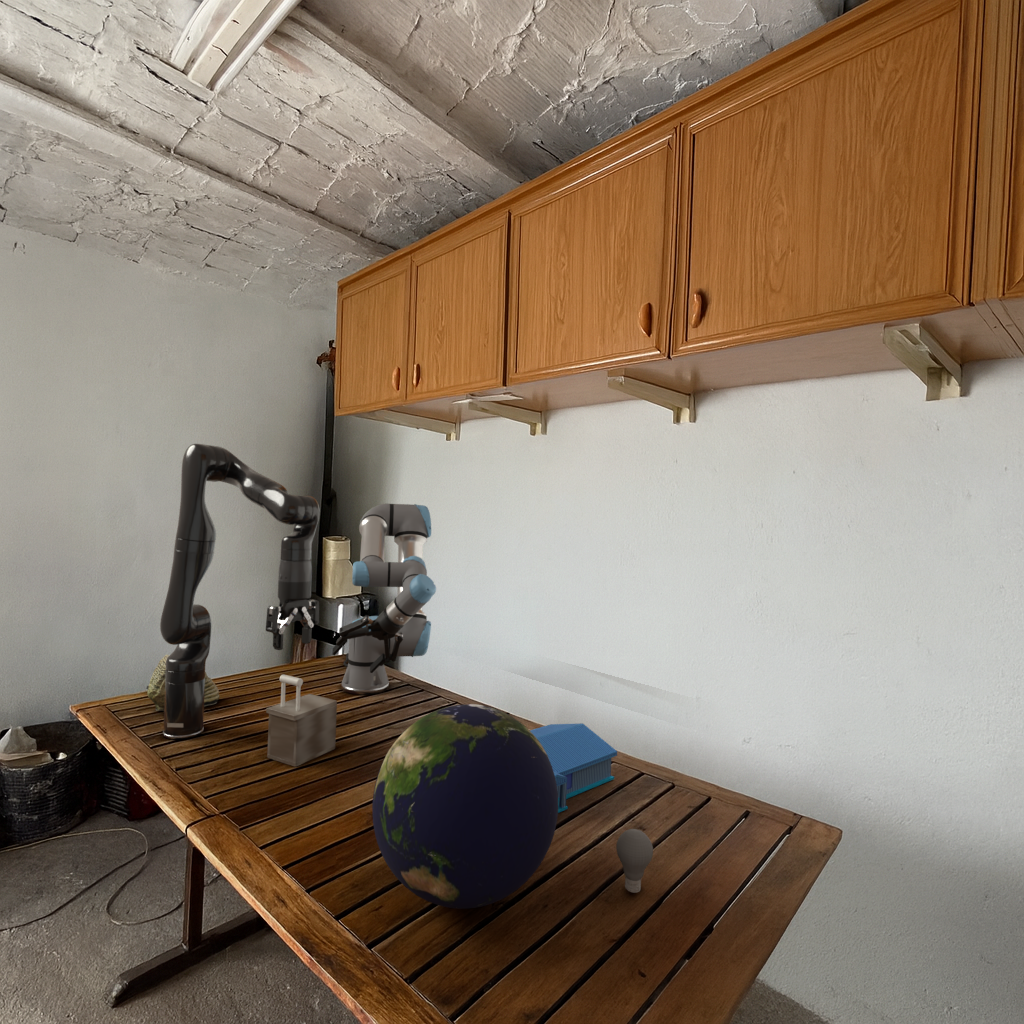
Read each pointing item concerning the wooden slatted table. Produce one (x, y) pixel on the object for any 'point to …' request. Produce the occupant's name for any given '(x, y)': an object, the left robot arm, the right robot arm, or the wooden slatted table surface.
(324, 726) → the chest
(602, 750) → the model building
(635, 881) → the light bulb
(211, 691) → the fossil
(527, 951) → the wooden slatted table surface
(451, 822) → the globe
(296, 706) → the lid
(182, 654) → the left robot arm
